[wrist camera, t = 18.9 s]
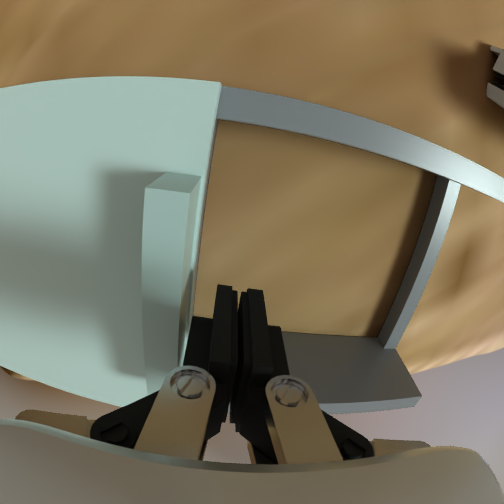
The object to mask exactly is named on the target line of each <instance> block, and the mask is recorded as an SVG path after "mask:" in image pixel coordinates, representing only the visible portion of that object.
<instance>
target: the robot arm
mask: <svg viewBox="0 0 504 504" xmlns="http://www.w3.org/2000/svg"><path fill="white" fill-rule="evenodd" d="M229 403H230V423H235V427H236V432H239V433H240V434H241V435H242V436H243V437H244V438H246V439H247V448H248V452H249V456H250V460H251V464H236V463H220V462H209V461H203V459H204V454H205V451H206V447H207V443H208V439H210V438H211V437H213V436H214V435H216V434H217V433H219V432H220V427H221V423H222V422H225V421H226V417H227V412H228V408H229ZM0 504H504V494H503V492H502V489H501V487H500V485H499V483H498V481H497V479H496V477H495V475H494V473H493V471H492V470H491V468H490V467H489V465H488V464H487V462H486V461H485V459H484V458H483V457H482V456H481V455H480V454H479V453H477V452H475V451H473V450H470V449H467V448H462V447H454V446H436V447H431V446H430V445H429V444H426V443H425V442H422V441H404V440H384V439H373V441H368V439H366V438H365V437H364V436H362V435H361V434H359V433H357V432H356V431H354V430H353V429H351V428H349V427H348V426H346V425H344V424H343V423H341V422H340V421H338V420H337V419H335V418H333V417H332V416H330V415H329V414H327V413H326V412H324V411H323V410H321V409H320V406H319V404H318V402H317V400H316V397H315V395H314V393H313V391H312V389H311V387H310V386H309V385H308V384H307V383H306V382H305V381H304V380H302V379H300V378H298V377H294V376H291V375H290V373H289V368H288V362H287V357H286V352H285V347H284V342H283V336H282V331H281V328H280V327H279V326H270V325H268V323H267V316H266V309H265V302H264V295H263V290H257V289H249V288H248V289H247V292H241V297H240V302H239V308H238V297H237V291H234V290H232V286H226V285H219V284H218V285H217V292H216V299H215V307H214V314H213V319H211V318H204V317H197V316H192V320H191V325H190V330H189V335H188V340H187V345H186V350H185V355H184V361H183V366H180V367H177V368H174V369H173V370H171V371H170V372H169V373H168V374H167V376H166V377H165V379H164V382H163V384H162V386H161V388H160V390H158V391H156V392H154V393H152V394H150V395H148V396H146V397H143V398H141V399H139V400H137V401H135V402H133V403H131V404H128V405H126V406H124V407H122V408H120V409H117V410H115V411H113V412H111V413H108V414H106V415H103V416H101V417H100V418H98V419H97V420H88V418H87V416H77V415H68V414H60V413H52V412H45V411H39V410H25V411H22V412H21V413H19V415H17V416H16V418H15V419H0Z"/></svg>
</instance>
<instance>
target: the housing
mask: <svg viewBox="0 0 504 504" xmlns="http://www.w3.org/2000/svg"><path fill="white" fill-rule="evenodd" d="M218 120H223V121H230V122H237V123H243V124H249V125H255V126H261V127H267V128H272V129H277V130H282V131H287V132H292V133H297V134H301V135H306V136H310V137H314V138H319V139H323V140H327V141H331V142H335V143H339V144H342V145H346V146H350V147H354V148H357V149H361V150H364V151H368V152H371V153H374V154H378V155H381V156H384V157H387V158H390V159H393V160H397V161H400V162H403V163H406V164H408V165H411V166H414V167H417V168H420V169H423V170H425V171H428V172H431V173H434V174H436V175H437V178H436V182H435V186H434V190H433V193H432V197H431V200H430V204H429V207H428V210H427V214H426V217H425V220H424V223H423V226H422V229H421V232H420V235H419V238H418V241H417V244H416V247H415V250H414V252H413V255H412V258H411V261H410V263H409V266H408V269H407V271H406V274H405V276H404V279H403V281H402V284H401V286H400V289H399V291H398V293H397V296H396V298H395V300H394V303H393V305H392V307H391V309H390V312H389V314H388V316H387V318H386V320H385V323H384V325H383V327H382V329H381V331H380V333H379V335H378V337H353V336H334V335H319V334H305V333H293V332H282V336H283V342H284V347H285V352H286V357H287V362H288V368H289V373H290V375H291V376H294V377H298V378H300V379H302V380H304V381H305V382H306V383H307V384H308V385H309V386H310V387H311V389H312V391H313V393H314V395H315V397H316V400H317V402H318V404H319V406H320V409H321V410H323V411H324V412H326V413H327V414H347V413H362V412H374V411H384V410H393V409H401V408H408V407H414V406H415V405H416V404H417V402H418V401H419V399H420V398H421V397H422V395H421V393H420V392H419V390H418V388H417V386H416V384H415V383H414V381H413V379H412V377H411V375H410V374H409V372H408V370H407V368H406V366H405V365H404V363H403V361H402V360H401V358H400V356H399V354H398V353H397V351H396V349H395V348H396V346H397V344H398V343H399V341H400V339H401V337H402V335H403V333H404V331H405V329H406V327H407V325H408V323H409V321H410V319H411V317H412V315H413V313H414V311H415V309H416V306H417V304H418V302H419V300H420V298H421V296H422V293H423V291H424V289H425V286H426V284H427V282H428V279H429V277H430V275H431V272H432V270H433V267H434V265H435V262H436V259H437V257H438V254H439V252H440V249H441V246H442V243H443V240H444V238H445V235H446V232H447V229H448V226H449V223H450V220H451V217H452V213H453V210H454V207H455V203H456V200H457V197H458V193H459V189H460V186H461V184H462V185H464V186H467V187H469V188H471V189H474V190H476V191H478V192H481V193H483V194H485V195H488V196H490V197H492V198H494V199H496V200H499V201H501V202H503V203H504V178H502V177H500V176H499V175H497V174H495V173H493V172H491V171H490V170H488V169H486V168H484V167H482V166H480V165H478V164H476V163H474V162H472V161H470V160H468V159H466V158H464V157H462V156H460V155H458V154H456V153H454V152H452V151H449V150H447V149H445V148H443V147H440V146H438V145H436V144H434V143H431V142H429V141H426V140H424V139H422V138H419V137H417V136H414V135H412V134H409V133H406V132H404V131H401V130H399V129H396V128H393V127H390V126H387V125H385V124H382V123H379V122H376V121H373V120H370V119H367V118H364V117H360V116H357V115H354V114H351V113H347V112H344V111H340V110H337V109H333V108H330V107H326V106H322V105H318V104H314V103H310V102H306V101H302V100H297V99H293V98H288V97H284V96H279V95H274V94H269V93H263V92H258V91H252V90H246V89H239V88H232V87H225V86H222V87H221V92H220V98H219V103H218V109H217V115H216V120H215V126H214V132H213V138H212V145H211V151H210V157H209V164H208V171H207V177H206V184H205V192H204V199H203V207H202V214H201V222H200V231H199V239H198V248H197V257H196V266H195V276H194V287H193V297H192V309H191V320H192V316H193V311H194V300H195V290H196V280H197V270H198V261H199V252H200V243H201V235H202V227H203V219H204V211H205V204H206V196H207V189H208V182H209V175H210V169H211V162H212V156H213V149H214V143H215V137H216V131H217V125H218ZM190 325H191V321H190ZM228 411H229V412H230V403H229V408H228Z"/></svg>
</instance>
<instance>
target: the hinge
mask: <svg viewBox="0 0 504 504" xmlns="http://www.w3.org/2000/svg"><path fill="white" fill-rule="evenodd" d="M490 50H491V51H492V52H494V53H495V54H496V55H497V56H499V57H498V59H497V61H496V63H495V65H494V67H493V70H494V71H496V75H495V76H496V77H497V78H498V79H500V80H501V81H502V82H504V50H503V49H500V48H497V47H494V46H491V48H490ZM486 91H487V97H488V98H490V99H491V100H493V101H494V102H495V103H497V104H498V105H499V106H501V107H502V108H504V86H503V85H501V84H499V83H497V82H495V81H494V82H493V84H490V83H488V84H487V90H486Z"/></svg>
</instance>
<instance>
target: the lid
mask: <svg viewBox="0 0 504 504" xmlns="http://www.w3.org/2000/svg"><path fill="white" fill-rule="evenodd" d="M221 87H222V85H221V83H220V82H212V81H203V80H193V79H181V78H166V77H137V76H115V77H87V78H72V79H61V80H51V81H43V82H35V83H28V84H22V85H16V86H11V87H5V88H0V366H3V367H5V368H7V369H9V370H12V371H14V372H16V373H19V374H21V375H23V376H26V377H28V378H31V379H33V380H36V381H39V382H42V383H44V384H47V385H50V386H52V387H56V388H58V389H61V390H64V391H67V392H70V393H73V394H77V395H80V396H83V397H86V398H90V399H94V400H97V401H101V402H104V403H108V404H112V405H116V406H120V407H124V406H126V405H128V404H131V403H133V402H135V401H137V400H139V399H141V398H143V397H146V396H148V395H150V394H152V393H154V392H156V391H158V390H160V388H161V386H162V384H163V382H164V379H165V377H166V376H167V374H168V373H169V372H170V371H171V370H173V369H174V368H177V367H180V366H183V361H184V355H185V350H186V345H187V340H188V335H189V330H190V321H191V309H192V297H193V287H194V276H195V266H196V257H197V248H198V239H199V231H200V222H201V214H202V207H203V199H204V192H205V184H206V177H207V171H208V164H209V157H210V151H211V145H212V138H213V132H214V126H215V120H216V115H217V109H218V103H219V98H220V92H221Z"/></svg>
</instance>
